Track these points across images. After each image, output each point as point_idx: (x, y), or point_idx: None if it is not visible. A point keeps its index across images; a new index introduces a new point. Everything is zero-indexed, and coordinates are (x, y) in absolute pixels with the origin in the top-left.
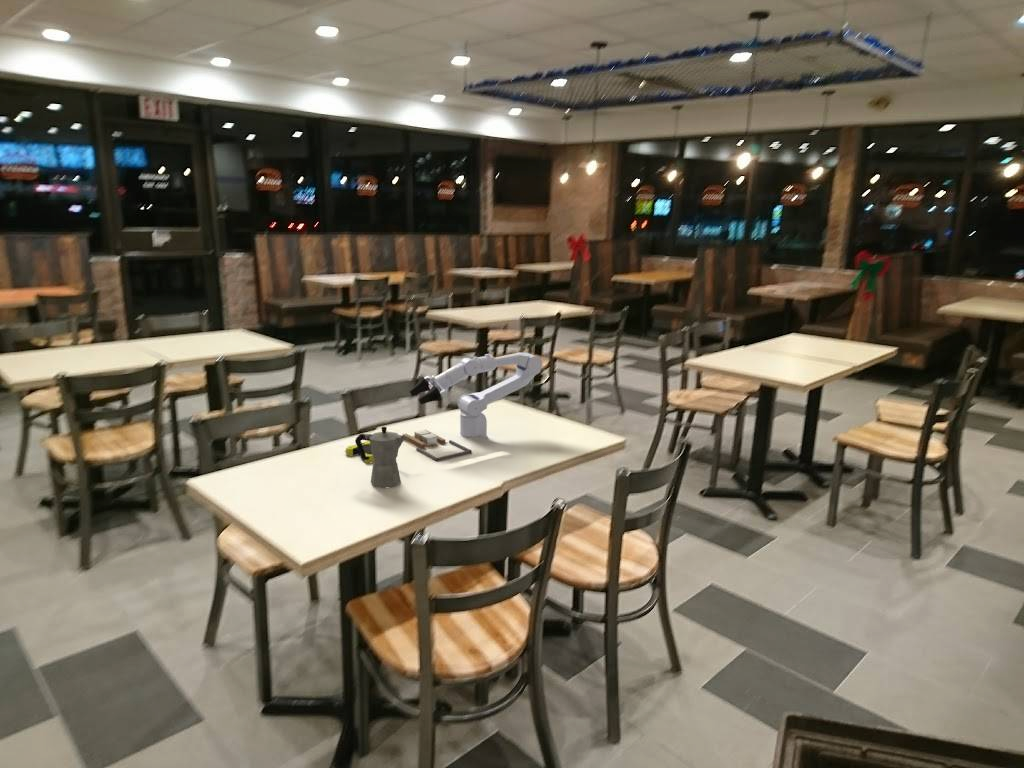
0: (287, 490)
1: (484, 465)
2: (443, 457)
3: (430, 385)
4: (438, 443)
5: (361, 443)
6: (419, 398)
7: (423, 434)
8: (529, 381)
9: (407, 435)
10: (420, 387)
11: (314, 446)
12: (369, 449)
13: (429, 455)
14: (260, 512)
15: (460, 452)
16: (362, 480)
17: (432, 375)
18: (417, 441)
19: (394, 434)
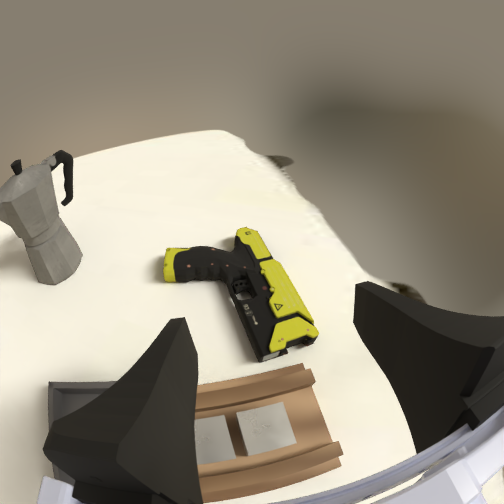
0: (135, 169)
1: (12, 480)
2: (49, 406)
3: (405, 463)
4: (198, 472)
5: (63, 169)
6: (179, 321)
7: (240, 427)
8: None
9: (291, 381)
10: (409, 358)
11: (315, 208)
12: (216, 263)
13: (81, 382)
14: (101, 156)
15: (56, 468)
16: (93, 236)
17: (475, 490)
18: (206, 396)
19: (5, 192)
